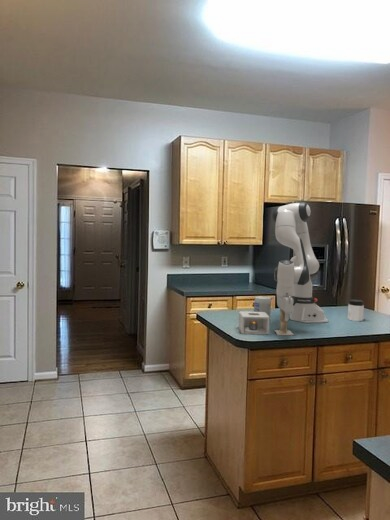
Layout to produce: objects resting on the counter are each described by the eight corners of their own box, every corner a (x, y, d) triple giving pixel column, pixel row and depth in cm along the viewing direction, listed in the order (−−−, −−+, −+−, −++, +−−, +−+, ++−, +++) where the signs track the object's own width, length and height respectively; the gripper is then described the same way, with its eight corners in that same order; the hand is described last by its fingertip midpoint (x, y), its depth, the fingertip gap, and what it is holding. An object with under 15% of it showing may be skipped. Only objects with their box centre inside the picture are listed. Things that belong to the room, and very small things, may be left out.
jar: (345, 318, 256) (346, 299, 255) (358, 318, 256) (359, 299, 256) (351, 321, 247) (352, 301, 246) (365, 321, 247) (366, 301, 247)
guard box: (264, 327, 224) (264, 311, 224) (268, 334, 210) (269, 317, 210) (238, 327, 224) (239, 311, 223) (241, 333, 210) (242, 316, 209)
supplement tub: (251, 323, 235) (252, 297, 234) (255, 320, 243) (256, 295, 242) (268, 325, 231) (269, 299, 230) (271, 321, 240) (272, 297, 239)
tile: (289, 331, 216) (289, 330, 216) (293, 335, 208) (293, 334, 208) (274, 331, 216) (274, 329, 216) (277, 335, 208) (277, 333, 208)
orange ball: (256, 328, 219) (256, 321, 219) (257, 330, 215) (258, 322, 215) (249, 328, 219) (249, 320, 219) (250, 330, 215) (250, 322, 215)
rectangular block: (285, 331, 214) (286, 308, 213) (286, 332, 211) (287, 309, 210) (279, 331, 214) (280, 308, 213) (280, 332, 211) (281, 309, 210)
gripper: (296, 295, 200) (295, 323, 201) (286, 289, 221) (285, 314, 222) (283, 294, 200) (282, 322, 201) (275, 289, 221) (274, 314, 222)
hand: (284, 318), depth 212 cm, fingers open, 8 cm apart
